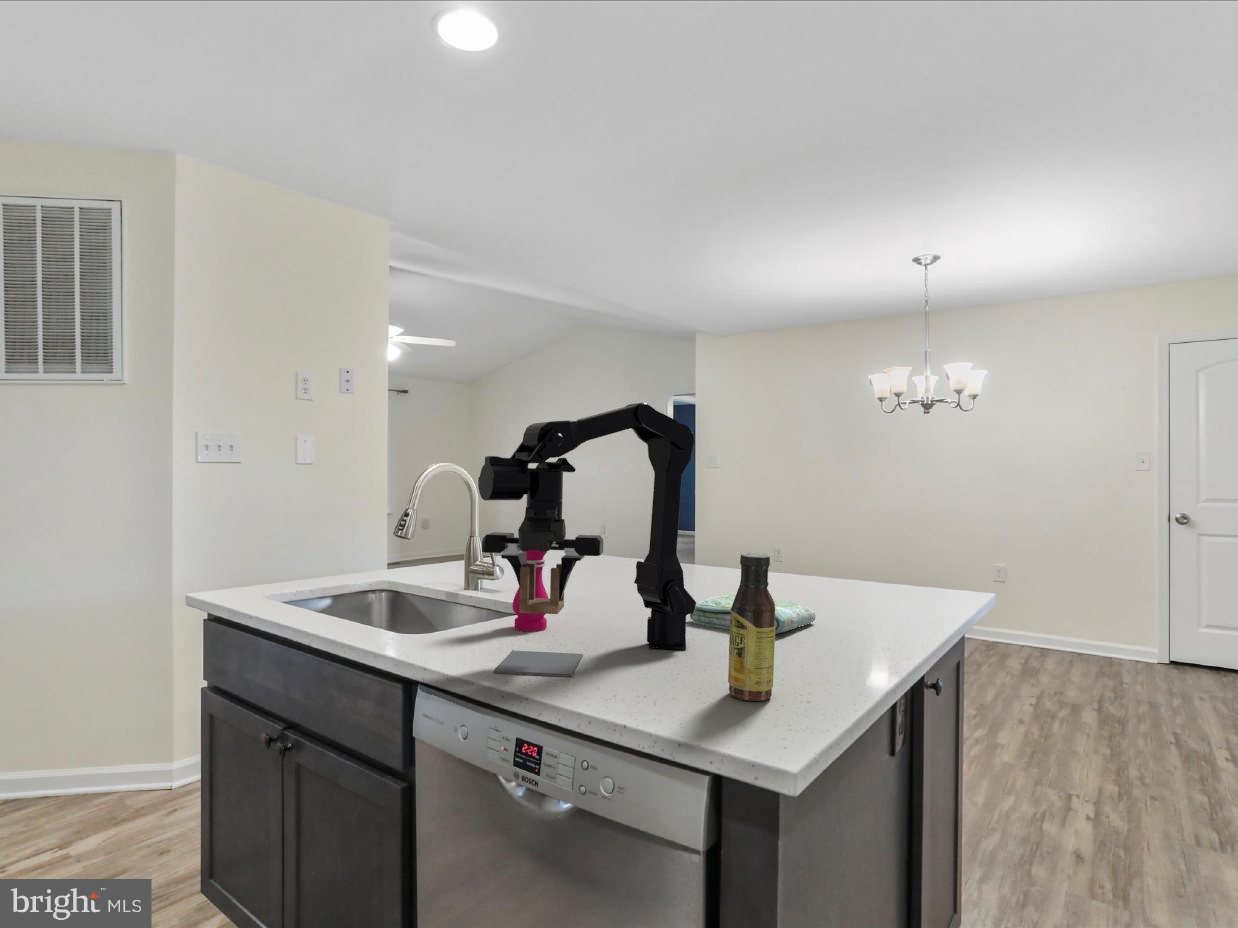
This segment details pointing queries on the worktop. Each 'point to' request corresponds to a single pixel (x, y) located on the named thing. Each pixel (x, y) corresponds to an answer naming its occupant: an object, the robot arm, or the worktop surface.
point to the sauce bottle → (752, 632)
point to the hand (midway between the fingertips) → (542, 598)
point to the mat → (539, 663)
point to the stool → (528, 592)
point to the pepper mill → (535, 619)
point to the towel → (719, 612)
